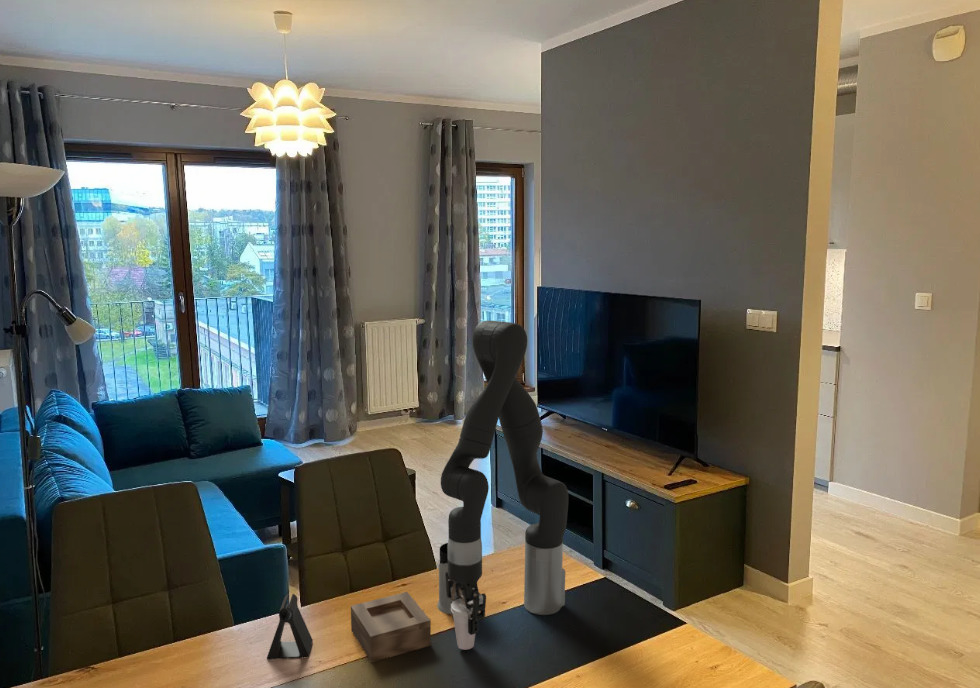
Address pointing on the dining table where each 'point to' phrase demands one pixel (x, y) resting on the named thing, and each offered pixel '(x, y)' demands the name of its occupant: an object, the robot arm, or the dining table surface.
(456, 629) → the smoothie
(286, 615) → the phone stand
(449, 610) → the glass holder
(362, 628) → the walnut tray
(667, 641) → the dining table surface
